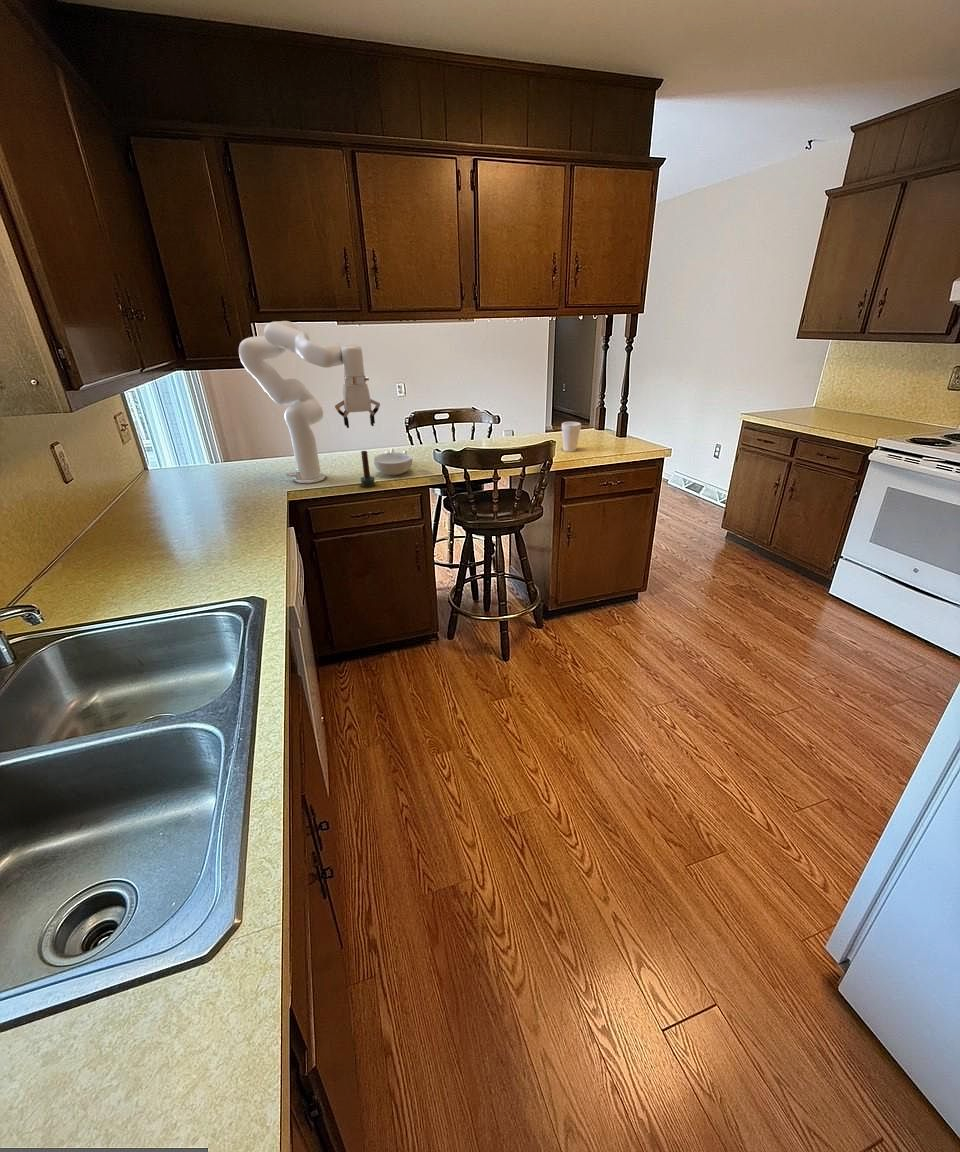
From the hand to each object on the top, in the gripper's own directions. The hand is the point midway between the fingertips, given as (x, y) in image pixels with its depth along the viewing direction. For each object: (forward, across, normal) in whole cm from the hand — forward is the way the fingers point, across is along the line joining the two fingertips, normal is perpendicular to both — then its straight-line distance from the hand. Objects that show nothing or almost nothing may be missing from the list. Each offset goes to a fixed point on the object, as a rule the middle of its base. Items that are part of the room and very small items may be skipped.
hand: (360, 426), depth 205 cm
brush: (+24, 0, +1) cm, 24 cm away
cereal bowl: (+24, -14, -13) cm, 31 cm away
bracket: (+25, -18, -29) cm, 42 cm away
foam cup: (+24, -105, -18) cm, 109 cm away
